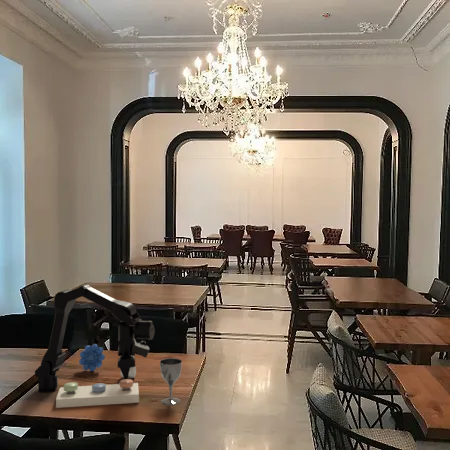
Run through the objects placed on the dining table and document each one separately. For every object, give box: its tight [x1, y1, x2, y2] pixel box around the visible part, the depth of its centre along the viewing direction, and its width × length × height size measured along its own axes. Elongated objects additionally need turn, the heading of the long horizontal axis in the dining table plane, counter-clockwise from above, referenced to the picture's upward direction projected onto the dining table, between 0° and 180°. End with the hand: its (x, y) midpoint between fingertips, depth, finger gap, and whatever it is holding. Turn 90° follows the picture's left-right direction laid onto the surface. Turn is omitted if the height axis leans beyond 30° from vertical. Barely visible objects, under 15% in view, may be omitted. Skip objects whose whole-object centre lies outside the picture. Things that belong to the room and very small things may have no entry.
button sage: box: [63, 382, 79, 394], centre depth 187 cm, size 5×5×4 cm
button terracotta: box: [119, 379, 134, 391], centre depth 191 cm, size 5×5×4 cm
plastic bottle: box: [120, 339, 137, 380], centre depth 211 cm, size 6×7×20 cm
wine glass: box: [159, 357, 183, 406], centre depth 187 cm, size 8×8×15 cm
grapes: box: [78, 343, 106, 372], centre depth 220 cm, size 12×7×12 cm, turn 81°
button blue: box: [91, 382, 107, 392], centre depth 189 cm, size 5×5×4 cm
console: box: [55, 382, 140, 409], centre depth 189 cm, size 29×12×3 cm, turn 101°
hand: (126, 378), depth 191 cm, fingers closed
